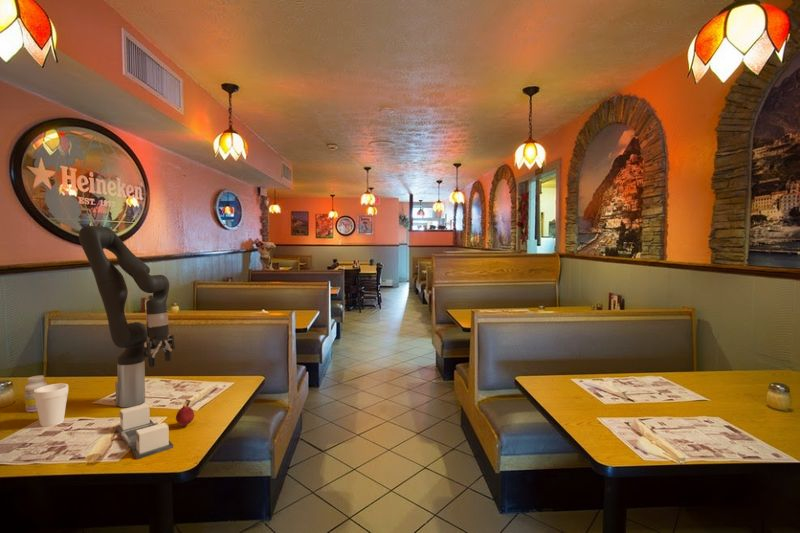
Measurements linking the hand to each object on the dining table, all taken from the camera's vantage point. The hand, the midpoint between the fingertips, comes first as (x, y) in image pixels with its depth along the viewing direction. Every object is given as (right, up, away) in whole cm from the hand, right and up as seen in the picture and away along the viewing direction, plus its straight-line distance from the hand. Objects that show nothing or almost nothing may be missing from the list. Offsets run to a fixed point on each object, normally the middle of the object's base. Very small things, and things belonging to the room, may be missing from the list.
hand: (160, 363), depth 158 cm
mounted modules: (+10, -18, -26) cm, 33 cm away
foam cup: (-30, -18, -16) cm, 38 cm away
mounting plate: (+10, -19, -26) cm, 34 cm away
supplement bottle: (-46, -17, -5) cm, 49 cm away
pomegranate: (+19, -19, -17) cm, 32 cm away
